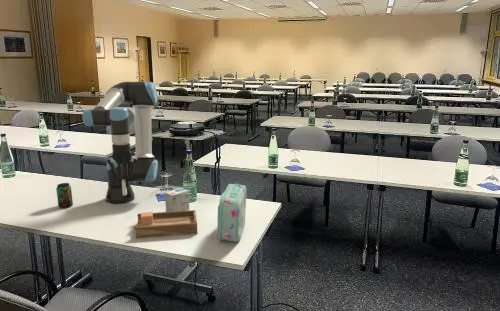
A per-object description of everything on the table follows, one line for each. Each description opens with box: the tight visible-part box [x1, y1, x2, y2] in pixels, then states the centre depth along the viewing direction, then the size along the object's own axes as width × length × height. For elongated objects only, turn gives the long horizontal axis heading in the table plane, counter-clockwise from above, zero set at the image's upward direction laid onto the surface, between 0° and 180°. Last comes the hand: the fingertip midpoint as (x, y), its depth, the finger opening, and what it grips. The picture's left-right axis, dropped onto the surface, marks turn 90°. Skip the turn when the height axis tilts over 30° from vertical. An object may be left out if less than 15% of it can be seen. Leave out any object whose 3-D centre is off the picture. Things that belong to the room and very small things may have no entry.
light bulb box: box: [164, 187, 190, 212], centre depth 204 cm, size 11×7×11 cm, turn 135°
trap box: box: [134, 209, 198, 239], centre depth 184 cm, size 16×27×5 cm, turn 101°
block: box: [140, 211, 154, 225], centre depth 185 cm, size 5×5×4 cm
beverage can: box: [55, 182, 74, 209], centre depth 209 cm, size 7×7×12 cm
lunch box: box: [217, 183, 247, 243], centre depth 179 cm, size 27×10×21 cm, turn 174°
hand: (124, 194), depth 180 cm, fingers closed
